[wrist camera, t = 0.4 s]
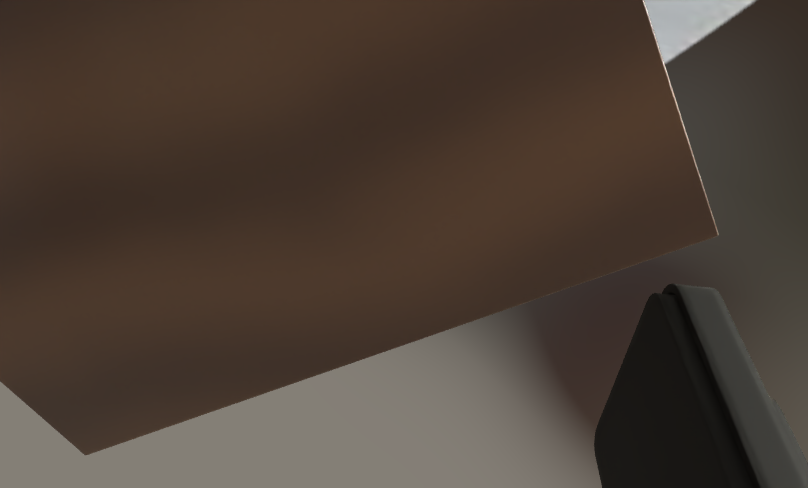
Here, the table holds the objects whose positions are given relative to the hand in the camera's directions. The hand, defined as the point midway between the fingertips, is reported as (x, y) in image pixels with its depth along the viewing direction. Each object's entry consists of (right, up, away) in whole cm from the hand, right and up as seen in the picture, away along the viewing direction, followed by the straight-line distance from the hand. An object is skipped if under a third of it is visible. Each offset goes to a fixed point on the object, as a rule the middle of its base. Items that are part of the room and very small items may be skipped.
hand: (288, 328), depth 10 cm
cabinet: (-4, +18, +32) cm, 37 cm away
